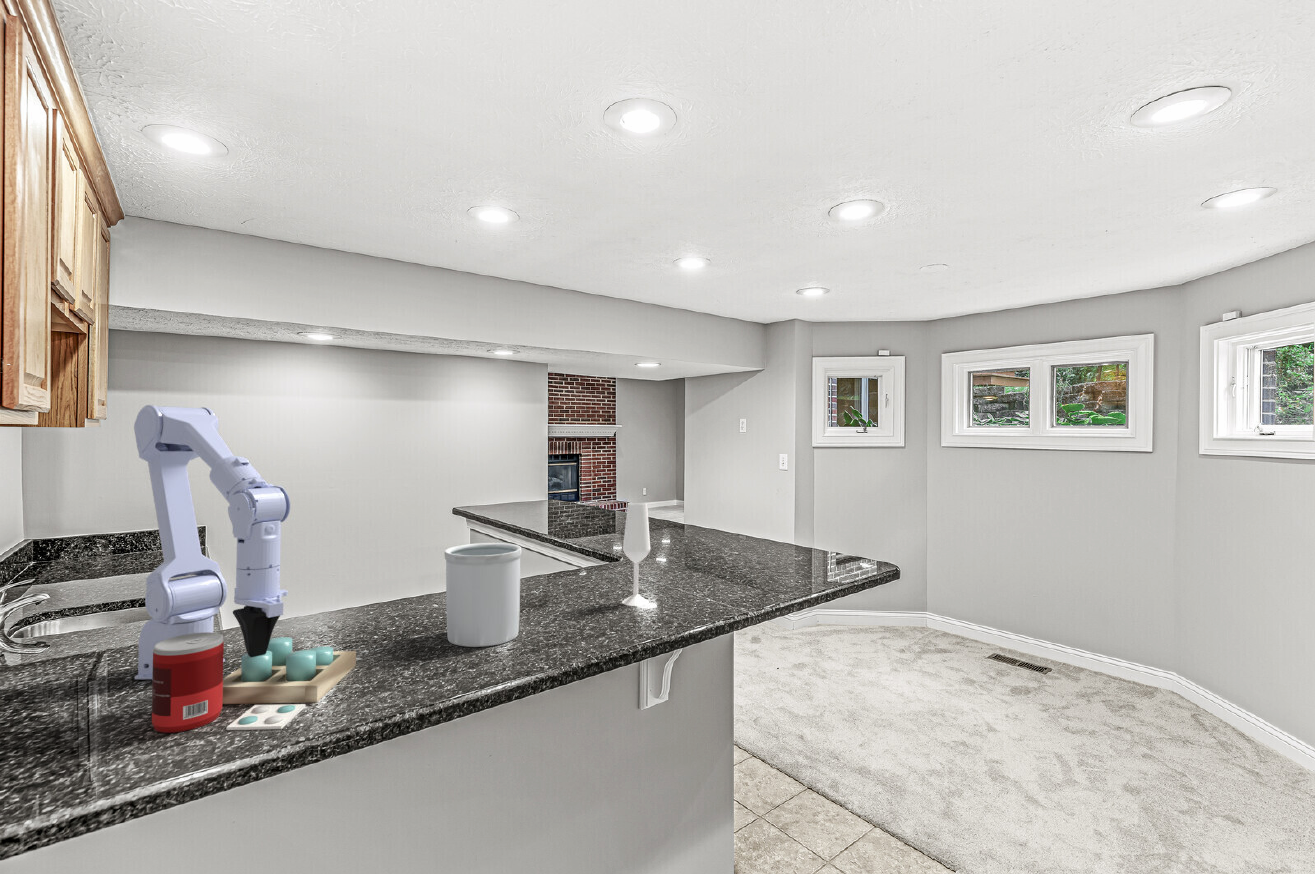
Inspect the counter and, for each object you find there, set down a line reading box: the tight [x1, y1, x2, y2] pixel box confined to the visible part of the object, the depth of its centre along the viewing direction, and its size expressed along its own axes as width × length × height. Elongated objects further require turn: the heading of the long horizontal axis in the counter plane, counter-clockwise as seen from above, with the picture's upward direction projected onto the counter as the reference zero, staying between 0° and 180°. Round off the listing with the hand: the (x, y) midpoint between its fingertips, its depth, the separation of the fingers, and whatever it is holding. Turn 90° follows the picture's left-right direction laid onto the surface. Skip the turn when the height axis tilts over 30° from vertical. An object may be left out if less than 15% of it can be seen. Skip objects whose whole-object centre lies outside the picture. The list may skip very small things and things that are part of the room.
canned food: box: [151, 632, 225, 734], centre depth 87 cm, size 8×8×11 cm
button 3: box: [286, 649, 316, 681], centre depth 98 cm, size 4×4×4 cm
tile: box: [226, 703, 306, 731], centre depth 89 cm, size 7×7×1 cm
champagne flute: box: [621, 502, 651, 607], centre depth 154 cm, size 7×7×24 cm
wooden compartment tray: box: [222, 650, 357, 705], centre depth 101 cm, size 15×15×2 cm
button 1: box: [240, 651, 272, 682], centre depth 97 cm, size 4×4×4 cm
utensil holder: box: [444, 542, 523, 648], centre depth 126 cm, size 15×15×18 cm
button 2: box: [267, 636, 293, 666], centre depth 104 cm, size 4×4×4 cm
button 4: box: [308, 646, 334, 666], centre depth 104 cm, size 4×4×4 cm
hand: (257, 654), depth 97 cm, fingers closed
